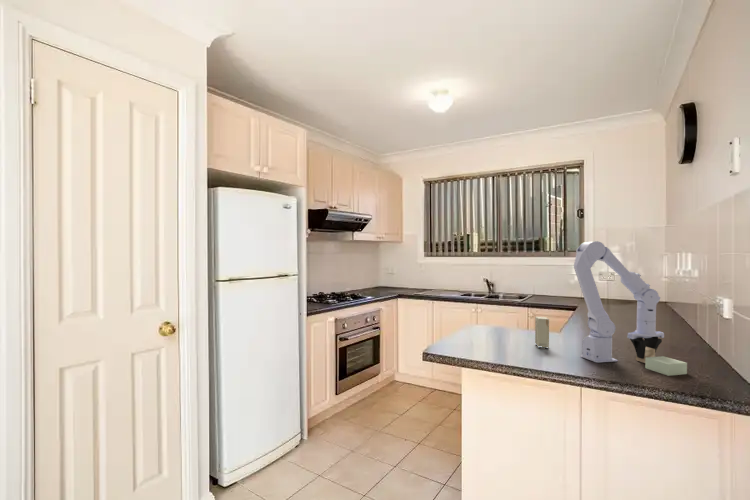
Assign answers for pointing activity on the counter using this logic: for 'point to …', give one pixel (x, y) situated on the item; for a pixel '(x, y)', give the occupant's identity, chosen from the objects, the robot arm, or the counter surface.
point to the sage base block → (666, 365)
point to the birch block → (647, 354)
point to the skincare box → (542, 331)
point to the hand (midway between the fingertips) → (645, 357)
